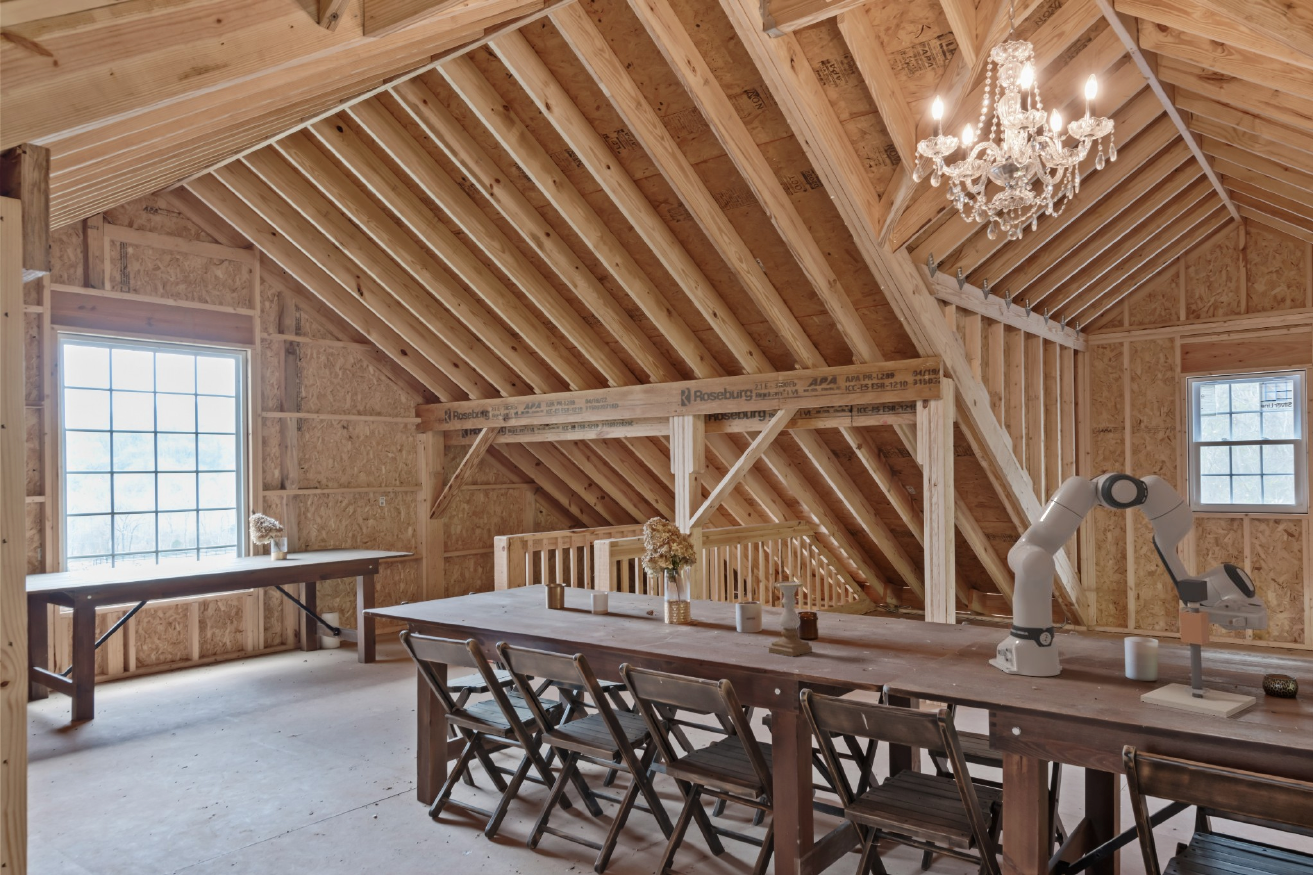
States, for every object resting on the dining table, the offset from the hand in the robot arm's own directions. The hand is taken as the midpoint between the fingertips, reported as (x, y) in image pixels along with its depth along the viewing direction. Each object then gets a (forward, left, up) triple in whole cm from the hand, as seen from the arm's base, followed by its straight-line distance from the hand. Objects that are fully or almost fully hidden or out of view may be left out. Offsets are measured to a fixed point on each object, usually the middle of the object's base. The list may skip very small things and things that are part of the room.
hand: (1212, 620), depth 231 cm
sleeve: (+5, -10, -4) cm, 12 cm away
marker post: (+5, -10, -20) cm, 23 cm away
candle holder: (-84, -90, -20) cm, 125 cm away
